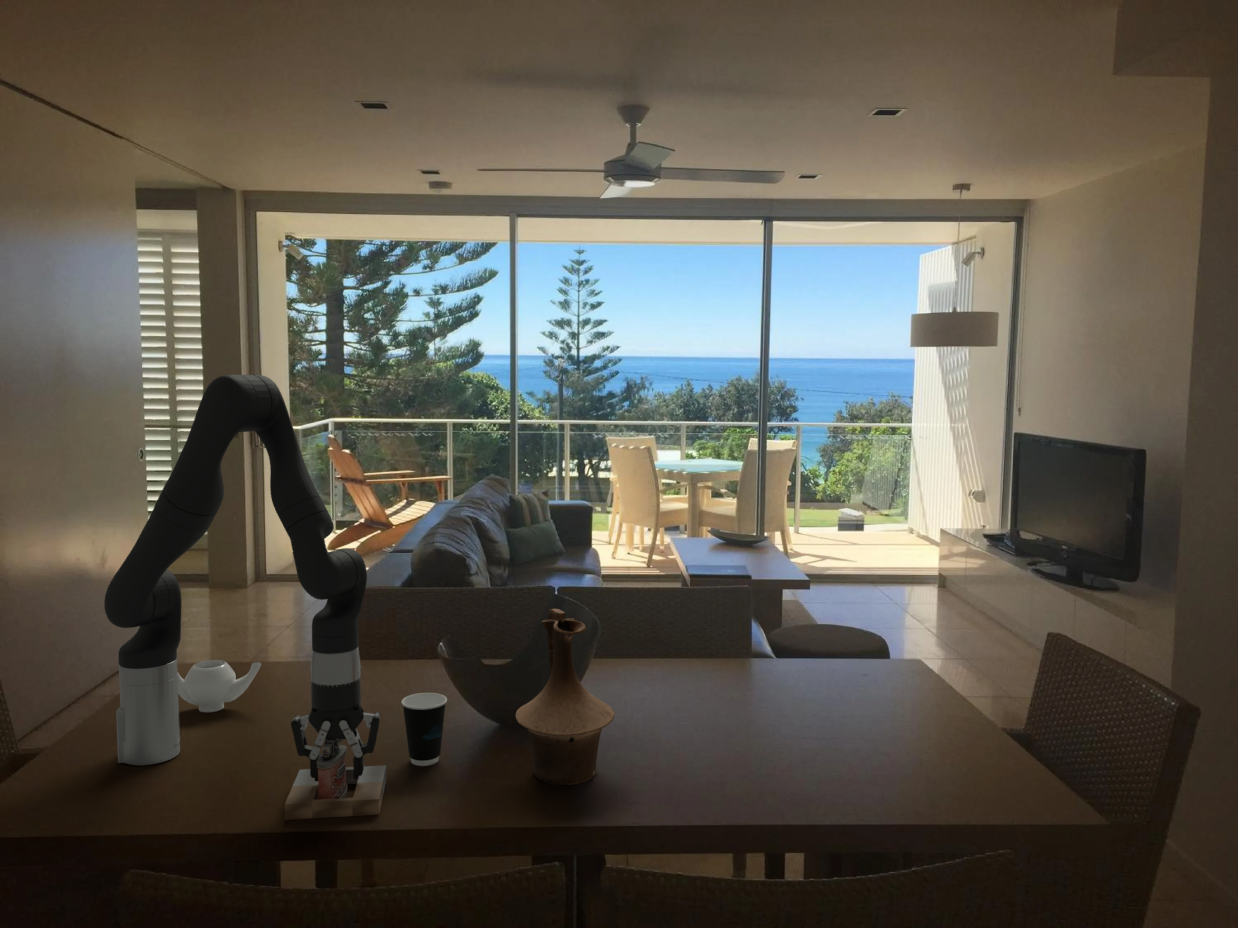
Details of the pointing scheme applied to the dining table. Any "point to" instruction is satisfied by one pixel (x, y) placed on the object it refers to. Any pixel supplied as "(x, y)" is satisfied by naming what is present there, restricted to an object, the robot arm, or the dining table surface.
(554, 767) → the pitcher
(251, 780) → the dining table surface
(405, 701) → the dixie cup
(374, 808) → the tan flat square frame
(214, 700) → the teapot
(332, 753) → the lighter
